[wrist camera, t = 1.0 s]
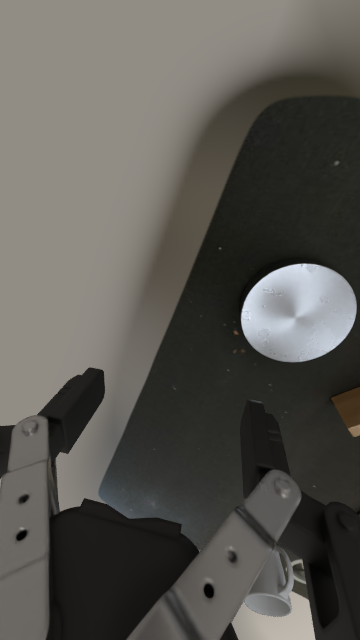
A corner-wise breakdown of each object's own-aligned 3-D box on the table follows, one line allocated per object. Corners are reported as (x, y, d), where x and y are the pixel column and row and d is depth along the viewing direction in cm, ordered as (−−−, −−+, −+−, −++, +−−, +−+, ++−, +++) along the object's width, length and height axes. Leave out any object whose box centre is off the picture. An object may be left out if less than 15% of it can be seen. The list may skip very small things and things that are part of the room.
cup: (232, 538, 48) (233, 600, 41) (268, 521, 44) (276, 586, 37) (262, 556, 49) (268, 620, 42) (300, 541, 45) (314, 608, 37)
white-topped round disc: (221, 296, 28) (220, 305, 26) (312, 235, 24) (322, 238, 22) (271, 362, 31) (275, 377, 28) (361, 318, 27) (376, 330, 24)
